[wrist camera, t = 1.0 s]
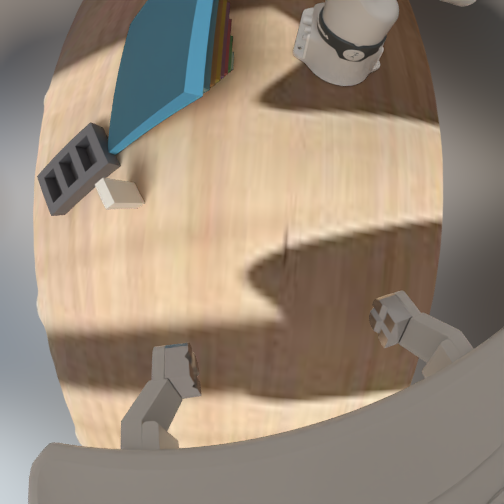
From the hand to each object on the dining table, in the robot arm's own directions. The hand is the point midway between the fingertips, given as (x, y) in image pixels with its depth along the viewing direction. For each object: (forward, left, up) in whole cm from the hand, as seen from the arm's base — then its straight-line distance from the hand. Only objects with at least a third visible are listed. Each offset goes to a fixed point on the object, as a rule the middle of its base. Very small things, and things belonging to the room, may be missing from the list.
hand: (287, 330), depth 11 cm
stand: (-13, -42, -41) cm, 60 cm away
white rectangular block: (-7, -27, -41) cm, 50 cm away
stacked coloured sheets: (-34, -21, -41) cm, 58 cm away
